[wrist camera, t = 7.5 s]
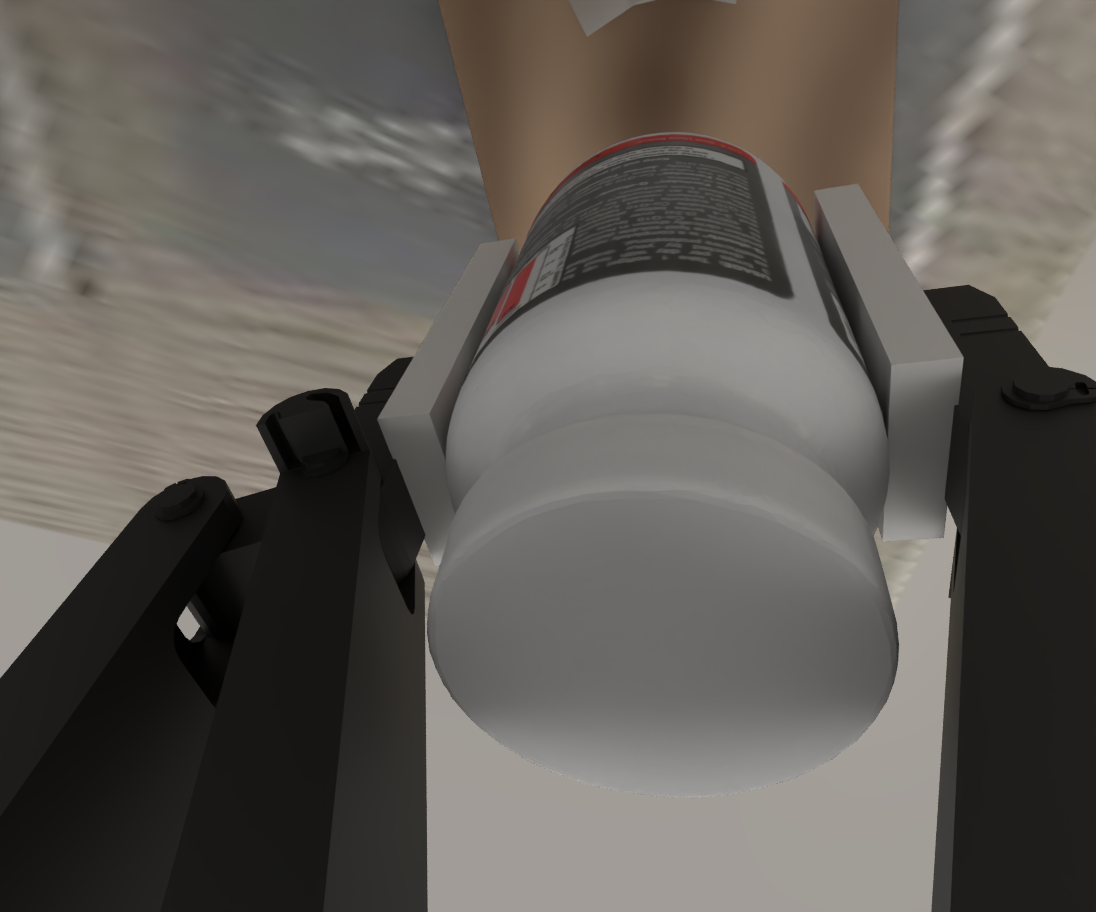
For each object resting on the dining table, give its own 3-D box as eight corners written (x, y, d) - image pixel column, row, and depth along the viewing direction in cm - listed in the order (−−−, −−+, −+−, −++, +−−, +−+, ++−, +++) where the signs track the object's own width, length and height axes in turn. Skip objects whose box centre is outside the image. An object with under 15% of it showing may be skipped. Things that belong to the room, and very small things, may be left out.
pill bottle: (481, 310, 17) (294, 687, 9) (622, 59, 13) (529, 296, 5) (699, 435, 18) (710, 873, 10) (879, 231, 14) (1117, 639, 6)
